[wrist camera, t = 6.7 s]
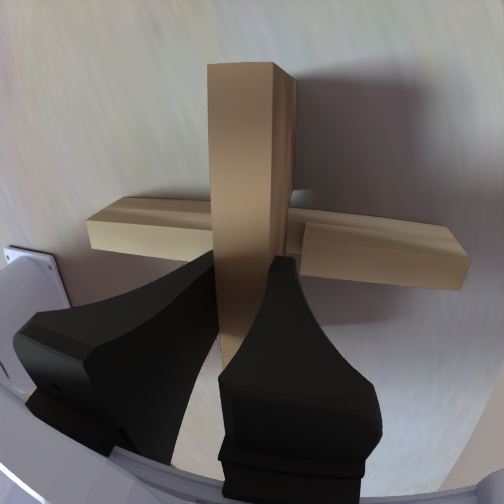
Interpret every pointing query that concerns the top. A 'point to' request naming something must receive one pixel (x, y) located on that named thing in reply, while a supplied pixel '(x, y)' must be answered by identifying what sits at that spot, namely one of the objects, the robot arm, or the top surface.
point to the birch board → (293, 241)
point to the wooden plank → (248, 186)
